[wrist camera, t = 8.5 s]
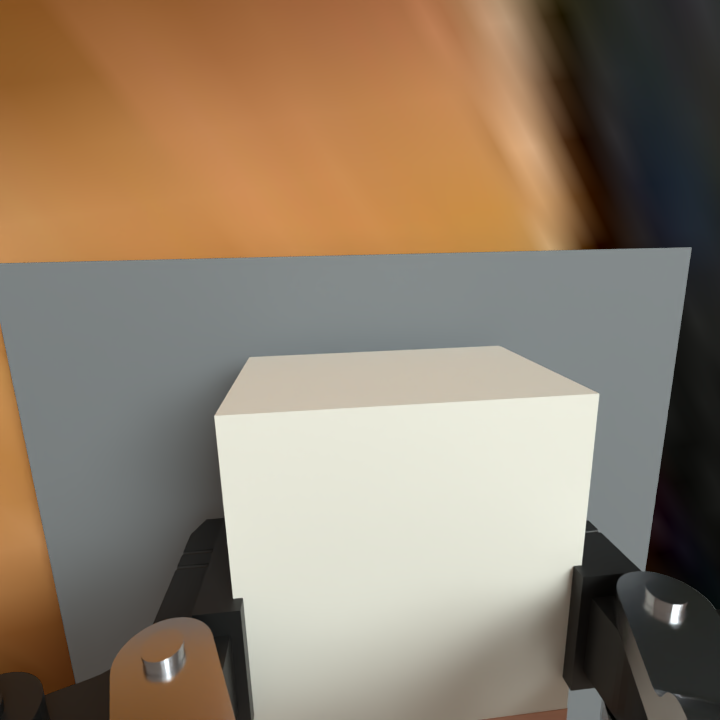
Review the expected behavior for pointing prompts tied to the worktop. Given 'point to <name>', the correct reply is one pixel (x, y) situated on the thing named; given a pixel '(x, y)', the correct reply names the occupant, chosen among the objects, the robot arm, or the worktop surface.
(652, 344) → the mat
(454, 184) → the worktop surface
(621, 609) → the robot arm
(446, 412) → the card box
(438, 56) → the worktop surface
